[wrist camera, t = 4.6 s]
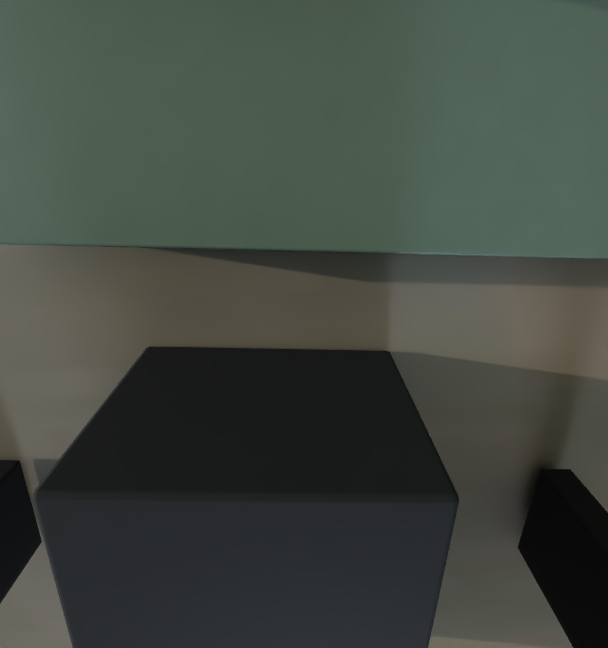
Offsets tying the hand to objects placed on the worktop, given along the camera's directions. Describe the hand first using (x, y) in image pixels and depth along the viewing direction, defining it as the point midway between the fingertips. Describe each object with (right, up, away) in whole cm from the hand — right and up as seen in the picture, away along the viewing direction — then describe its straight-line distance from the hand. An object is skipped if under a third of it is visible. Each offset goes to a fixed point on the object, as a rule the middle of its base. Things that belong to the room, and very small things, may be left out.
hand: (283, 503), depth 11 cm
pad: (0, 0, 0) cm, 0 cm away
